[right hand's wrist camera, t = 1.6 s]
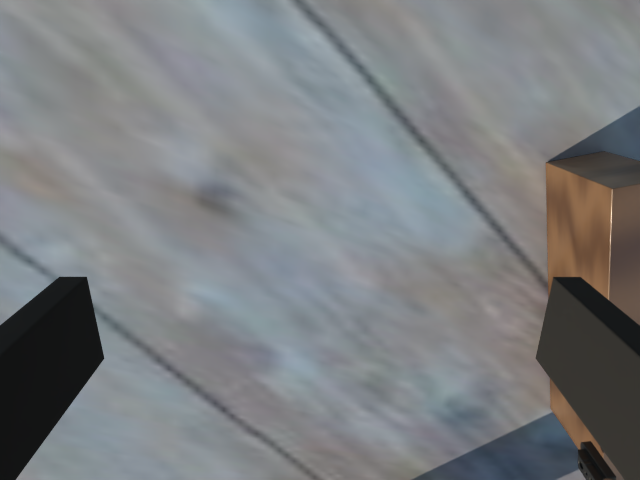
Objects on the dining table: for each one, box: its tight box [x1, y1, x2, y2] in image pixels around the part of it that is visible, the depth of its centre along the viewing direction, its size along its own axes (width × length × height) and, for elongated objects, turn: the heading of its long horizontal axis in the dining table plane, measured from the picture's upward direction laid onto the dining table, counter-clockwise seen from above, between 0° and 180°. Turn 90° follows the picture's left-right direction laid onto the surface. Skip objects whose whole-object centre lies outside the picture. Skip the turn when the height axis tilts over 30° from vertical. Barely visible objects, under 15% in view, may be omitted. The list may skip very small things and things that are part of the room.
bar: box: [546, 151, 640, 480], centre depth 38 cm, size 26×5×9 cm, turn 11°
